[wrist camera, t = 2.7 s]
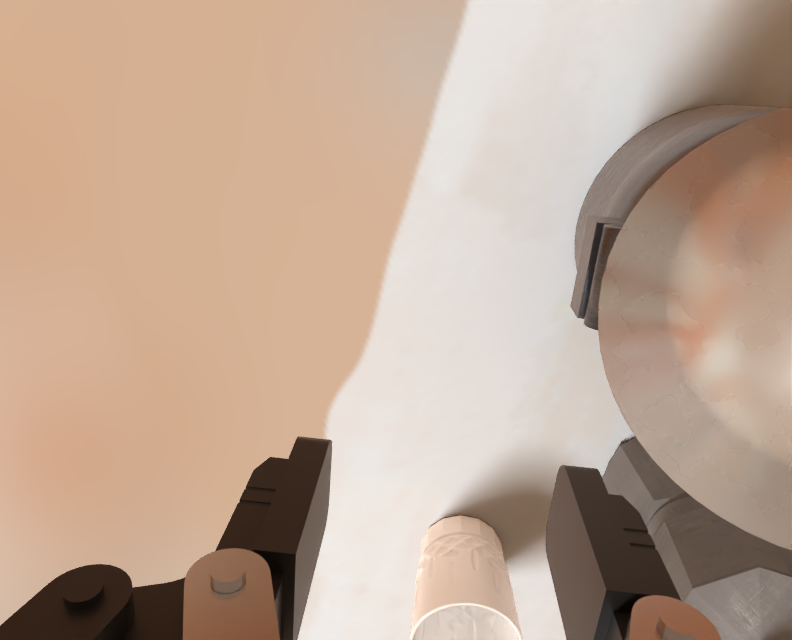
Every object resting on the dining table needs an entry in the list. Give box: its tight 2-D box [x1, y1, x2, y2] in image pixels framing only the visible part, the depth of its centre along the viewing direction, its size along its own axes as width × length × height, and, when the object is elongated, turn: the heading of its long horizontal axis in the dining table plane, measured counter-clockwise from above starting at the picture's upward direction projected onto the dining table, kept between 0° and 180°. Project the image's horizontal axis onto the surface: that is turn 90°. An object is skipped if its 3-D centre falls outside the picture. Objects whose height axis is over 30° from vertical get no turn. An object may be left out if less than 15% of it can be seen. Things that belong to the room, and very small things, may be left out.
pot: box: [571, 105, 783, 319], centre depth 37 cm, size 19×17×12 cm
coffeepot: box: [602, 437, 792, 640], centre depth 41 cm, size 15×9×18 cm, turn 140°
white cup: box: [409, 515, 523, 640], centre depth 48 cm, size 8×8×10 cm
